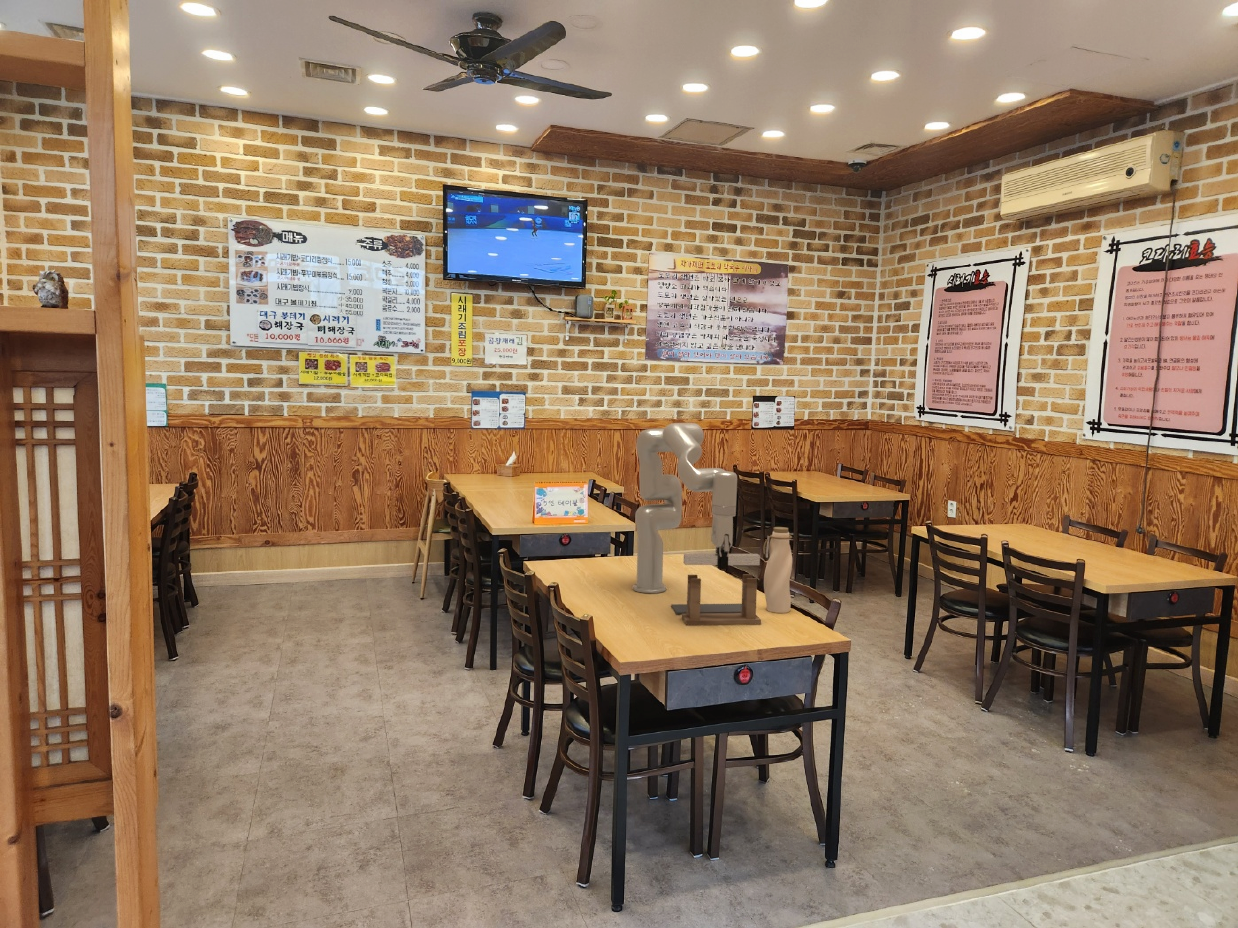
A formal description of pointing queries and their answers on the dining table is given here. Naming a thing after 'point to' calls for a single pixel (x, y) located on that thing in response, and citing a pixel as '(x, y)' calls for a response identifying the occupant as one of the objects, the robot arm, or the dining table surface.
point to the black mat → (709, 608)
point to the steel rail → (713, 559)
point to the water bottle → (778, 571)
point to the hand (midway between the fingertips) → (721, 566)
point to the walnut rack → (742, 618)
